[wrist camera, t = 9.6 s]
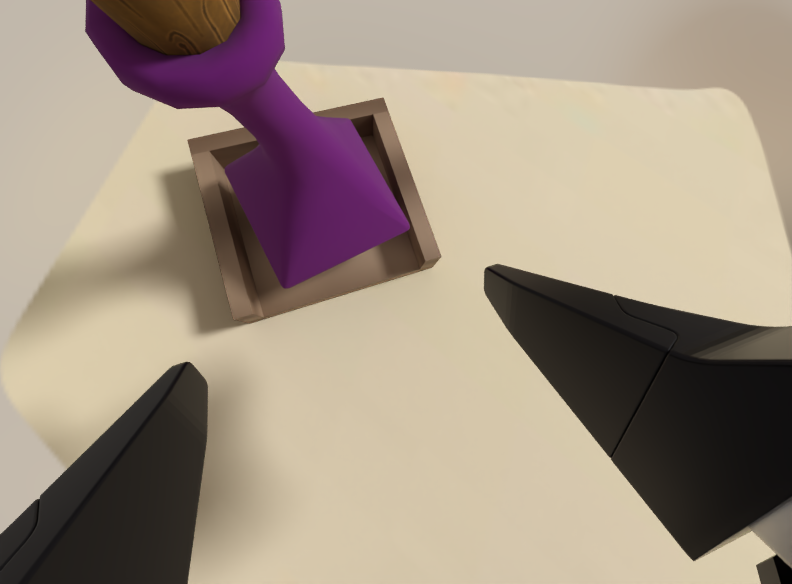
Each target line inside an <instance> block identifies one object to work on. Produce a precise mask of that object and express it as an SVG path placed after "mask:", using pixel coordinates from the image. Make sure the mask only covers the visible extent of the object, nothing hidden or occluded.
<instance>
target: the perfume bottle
mask: <svg viewBox="0 0 792 584" xmlns="http://www.w3.org/2000/svg"><path fill="white" fill-rule="evenodd" d="M85 32H86V33H87V34H88V36H89V38H90V39H91V41H92V42H93V44H94V45H95V47H96V48H97V49H98V51H99V52H100V54H101V55H102V56H103V58H104V59H105V60H106V62H107V63H108V64H109V66H110V67H111V68H112V70H113V71H114V73H115V74H116V75H117V77H118V78H119V80H120V81H121V82H122V83H123V84H124V85H125V86H127V87H128V88H130V89H131V90H133V91H135V92H138V93H140V94H142V95H145V96H147V97H150V98H152V99H155V100H157V101H159V102H162V103H164V104H167V105H169V106H172V107H174V108H176V109H186V108H206V107H220V108H222V109H223V110H225V111H227V112H228V113H230V114H231V115H233V116H234V117H235V118H236V119H237V120H238V121H239V122H240V123H241V124H242V125H243V126H244V127H245V128H246V129H247V130H248V131H249V132H250V133H251V134H252V135H253V136H254V137H255V138H256V140H257V141H258V143H259V145H258V146H257V148H255V149H253V150H252V151H250V152H248V153H247V154H245V155H243V156H242V157H240V158H238V159H237V160H235V161H233V162H232V163H230V164H228V165H227V166H226V167H225V174H226V176H227V178H228V180H229V182H230V184H231V186H232V188H233V190H234V192H235V194H236V196H237V198H238V200H239V202H240V204H241V206H242V208H243V210H244V212H245V214H246V216H247V218H248V220H249V222H250V224H251V226H252V228H253V230H254V232H255V234H256V236H257V238H258V240H259V242H260V244H261V246H262V248H263V250H264V252H265V254H266V256H267V258H268V260H269V262H270V264H271V266H272V268H273V270H274V272H275V274H276V276H277V278H278V280H279V282H280V284H281V286H282V287H283V288H284V289H288V288H291V287H293V286H295V285H297V284H299V283H301V282H303V281H305V280H307V279H310V278H312V277H314V276H316V275H318V274H320V273H322V272H324V271H326V270H328V269H330V268H332V267H334V266H336V265H338V264H340V263H342V262H345V261H347V260H349V259H351V258H353V257H355V256H357V255H359V254H361V253H363V252H365V251H367V250H369V249H371V248H373V247H375V246H378V245H380V244H382V243H384V242H386V241H388V240H390V239H392V238H394V237H396V236H398V235H400V234H402V233H404V232H406V231H408V230H409V228H410V225H409V222H408V221H407V219H406V217H405V215H404V213H403V212H402V210H401V208H400V206H399V205H398V203H397V201H396V199H395V198H394V196H393V194H392V192H391V191H390V189H389V187H388V185H387V184H386V182H385V180H384V178H383V176H382V175H381V173H380V171H379V169H378V168H377V166H376V164H375V162H374V161H373V159H372V157H371V155H370V154H369V152H368V150H367V148H366V147H365V145H364V143H363V141H362V139H361V138H360V136H359V134H358V132H357V131H356V129H355V127H354V125H353V124H352V122H351V120H349V119H348V118H332V117H321V116H316V115H314V114H313V113H312V112H311V111H310V110H309V109H308V108H307V107H306V106H305V105H304V104H303V103H302V102H301V101H300V100H299V98H298V97H297V96H296V95H295V94H294V93H293V91H292V90H291V89H290V88H289V87H288V85H287V84H286V83H285V82H284V81H283V80H282V78H281V77H280V76H279V75H278V73H277V72H276V70H275V66H276V64H277V63H278V61H279V59H280V57H281V55H282V54H283V52H284V50H285V45H284V33H283V20H282V10H281V4H280V1H279V0H86V29H85Z"/></svg>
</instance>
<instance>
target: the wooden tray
mask: <svg viewBox="0 0 792 584" xmlns="http://www.w3.org/2000/svg"><path fill="white" fill-rule="evenodd" d="M313 114H314V115H316V116H321V117H332V118H348V119H349V120H351V122H352V124H353V125H354V127H355V129H356V131H357V132H358V134H359V136H360V138H361V139H362V141H363V143H364V145H365V147H366V148H367V150H368V152H369V154H370V155H371V157H372V159H373V161H374V162H375V164H376V166H377V168H378V169H379V171H380V173H381V175H382V176H383V178H384V180H385V182H386V184H387V185H388V187H389V189H390V191H391V192H392V194H393V196H394V198H395V199H396V201H397V203H398V205H399V206H400V208H401V210H402V212H403V213H404V215H405V217H406V219H407V221H408V222H409V225H410V228H409V230H408V231H406V232H404V233H402V234H400V235H398V236H396V237H394V238H392V239H390V240H388V241H386V242H384V243H382V244H380V245H378V246H375V247H373V248H371V249H369V250H367V251H365V252H363V253H361V254H359V255H357V256H355V257H353V258H351V259H349V260H347V261H345V262H342V263H340V264H338V265H336V266H334V267H332V268H330V269H328V270H326V271H324V272H322V273H320V274H318V275H316V276H314V277H312V278H310V279H307V280H305V281H303V282H301V283H299V284H297V285H295V286H293V287H291V288H288V289H284V288H283V287H282V286H281V284H280V282H279V280H278V278H277V276H276V274H275V272H274V270H273V268H272V266H271V264H270V262H269V260H268V258H267V256H266V254H265V252H264V250H263V248H262V246H261V244H260V242H259V240H258V238H257V236H256V234H255V232H254V230H253V228H252V226H251V224H250V222H249V220H248V218H247V216H246V214H245V212H244V210H243V208H242V206H241V204H240V202H239V200H238V198H237V196H236V194H235V192H234V190H233V188H232V186H231V184H230V182H229V180H228V178H227V176H226V174H225V167H226V166H227V165H228V164H230V163H232V162H233V161H235V160H237V159H238V158H240V157H242V156H243V155H245V154H247V153H248V152H250V151H252V150H253V149H255V148H257V146H258V145H259V143H258V141H257V140H256V138H255V137H254V136H253V135H252V134H251V133H250V132H249V131H248V130H247V129H246V128H245V127H244V128H240V129H235V130H230V131H226V132H221V133H217V134H212V135H207V136H203V137H198V138H193V139H189V140H188V144H189V148H190V152H191V156H192V160H193V164H194V167H195V171H196V175H197V179H198V183H199V187H200V191H201V195H202V199H203V203H204V207H205V211H206V215H207V219H208V222H209V226H210V230H211V234H212V238H213V242H214V246H215V250H216V254H217V258H218V262H219V266H220V270H221V274H222V277H223V281H224V285H225V289H226V293H227V297H228V301H229V305H230V309H231V313H232V317H233V320H238V321H242V322H247V323H253V322H256V321H259V320H263V319H266V318H269V317H272V316H276V315H279V314H282V313H285V312H289V311H292V310H295V309H298V308H302V307H305V306H308V305H311V304H315V303H318V302H321V301H325V300H328V299H331V298H334V297H338V296H341V295H344V294H347V293H351V292H354V291H357V290H360V289H364V288H367V287H370V286H373V285H377V284H380V283H383V282H386V281H390V280H393V279H396V278H399V277H403V276H406V275H409V274H412V273H416V272H419V271H422V270H425V269H429V268H432V267H433V266H434V265H435V264H436V262H437V261H438V260H439V259H440V258H441V254H440V251H439V249H438V246H437V243H436V240H435V238H434V235H433V232H432V229H431V227H430V224H429V221H428V218H427V216H426V213H425V210H424V207H423V205H422V202H421V199H420V196H419V194H418V191H417V188H416V186H415V183H414V180H413V177H412V175H411V172H410V169H409V166H408V164H407V161H406V158H405V155H404V153H403V150H402V147H401V144H400V142H399V139H398V136H397V133H396V131H395V128H394V125H393V123H392V120H391V117H390V114H389V112H388V109H387V106H386V103H385V101H384V98H379V99H374V100H370V101H365V102H360V103H356V104H351V105H347V106H342V107H337V108H333V109H328V110H323V111H319V112H314V113H313Z"/></svg>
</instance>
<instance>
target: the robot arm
mask: <svg viewBox="0 0 792 584" xmlns="http://www.w3.org/2000/svg"><path fill="white" fill-rule="evenodd" d="M484 291H485V294H486V296H487V298H488V299H489V301H490V302H491V304H492V306H493V307H494V309H495V310H496V312H497V314H498V315H499V317H500V318H501V320H502V322H503V323H504V325H505V326H506V328H507V329H508V331H509V332H510V333H511V335H512V336H513V337H514V339H515V340H516V341H517V342H518V344H519V345H520V346H521V347H522V349H523V350H524V351H525V352H526V354H527V355H528V356H529V357H530V359H531V360H532V361H533V362H534V364H535V365H536V366H537V367H538V369H539V370H540V371H541V372H542V374H543V375H544V376H545V377H546V379H547V380H548V381H549V382H550V384H551V385H552V386H553V387H554V389H555V390H556V391H557V392H558V394H559V395H560V396H561V397H562V399H563V400H564V401H565V402H566V404H567V405H568V406H569V407H570V409H571V410H572V411H573V412H574V414H575V415H576V416H577V417H578V419H579V420H580V421H581V422H582V424H583V425H584V426H585V427H586V429H587V430H588V431H589V432H590V434H591V435H592V436H593V437H594V439H595V440H596V441H597V442H598V444H599V445H600V446H601V447H602V449H603V450H604V451H605V452H606V454H607V455H608V456H609V457H610V458H611V460H612V461H613V463H614V464H615V465H616V466H617V468H618V469H619V470H620V471H621V473H622V474H623V475H624V476H625V478H626V479H627V480H628V481H629V483H630V484H631V485H632V486H633V488H634V489H635V490H636V491H637V493H638V494H639V495H640V496H641V498H642V499H643V500H644V501H645V503H646V504H647V505H648V506H649V508H650V509H651V510H652V511H653V513H654V514H655V515H656V516H657V518H658V519H659V520H660V521H661V523H662V524H663V525H664V526H665V528H666V529H667V530H668V531H669V533H670V534H671V535H672V536H673V538H674V539H675V540H676V541H677V543H678V544H679V545H680V546H681V548H682V549H683V550H684V551H685V552H686V554H687V555H688V556H689V557H690V558H691V559H692V560H693V561H696V560H698V559H699V558H701V557H703V556H705V555H707V554H709V553H711V552H713V551H715V550H717V549H718V548H720V547H722V546H724V545H726V544H728V543H730V542H732V541H734V540H736V539H737V538H739V537H741V536H743V535H745V534H747V533H749V532H751V531H753V532H754V533H755V534H756V535H757V536H758V537H759V538H760V539H761V540H762V541H763V542H764V543H765V544H766V545H767V546H768V547H769V548H771V549H772V550H773V551H774V552H775V553H776V555H774V556H772V557H770V558H768V559H766V560H765V561H763V562H761V563H759V564H757V565H756V567H757V570H758V574H759V578H760V581H761V584H792V326H788V327H767V326H755V325H748V324H742V323H737V322H732V321H727V320H722V319H718V318H713V317H708V316H703V315H699V314H694V313H689V312H684V311H680V310H675V309H670V308H666V307H661V306H657V305H652V304H648V303H644V302H640V301H636V300H632V299H628V298H625V297H621V296H617V295H614V296H613V295H612V294H609V293H606V292H602V291H598V290H594V289H591V288H587V287H583V286H579V285H575V284H572V283H568V282H564V281H560V280H557V279H553V278H549V277H545V276H542V275H538V274H534V273H530V272H526V271H523V270H519V269H515V268H511V267H508V266H504V265H500V264H495V265H492V266H489V267H486V268H485V271H484ZM207 416H208V385H207V382H206V380H205V378H204V377H203V376H202V375H201V374H200V372H199V371H198V370H197V369H196V368H195V367H194V365H193V364H192V363H190V362H184V363H181V364H178V365H174V366H172V367H171V368H170V369H169V370H167V371H166V372H165V373H164V374H163V375H162V376H161V377H160V378H159V379H158V380H157V381H156V382H155V383H154V384H153V385H152V386H151V387H150V388H149V389H148V390H147V391H146V392H145V393H144V394H143V395H142V396H141V397H140V398H139V399H138V400H137V401H136V402H135V403H134V404H133V405H132V406H131V407H130V408H129V409H128V410H127V411H126V412H125V413H124V414H123V415H122V416H121V417H120V418H119V419H118V420H117V421H116V422H115V423H114V424H113V425H112V426H111V427H110V428H109V429H108V430H107V431H106V432H104V433H103V434H102V435H101V436H100V437H99V438H98V439H97V440H96V441H95V442H94V443H93V444H92V445H91V446H90V447H89V448H88V449H87V450H86V451H85V452H84V453H83V454H82V455H81V456H80V457H79V458H78V459H77V460H76V461H75V462H74V463H73V464H72V465H71V466H70V467H69V468H68V469H67V470H66V471H65V472H64V473H63V474H62V475H61V476H60V477H59V478H58V479H57V480H56V481H55V482H54V483H53V484H52V485H51V486H50V487H49V488H48V489H47V490H46V491H45V492H44V493H43V494H41V496H40V499H37V500H35V501H34V502H33V503H32V504H31V506H29V507H28V508H27V509H26V510H25V511H24V512H23V513H22V514H21V515H20V516H19V517H18V518H17V519H16V520H15V521H14V522H13V523H12V524H11V525H10V526H9V527H8V528H7V529H6V530H5V531H4V532H3V533H1V534H0V584H188V576H189V569H190V561H191V554H192V547H193V539H194V532H195V524H196V517H197V509H198V502H199V495H200V487H201V480H202V472H203V465H204V457H205V450H206V442H207Z"/></svg>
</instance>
